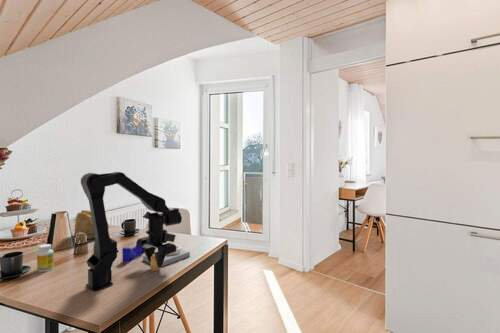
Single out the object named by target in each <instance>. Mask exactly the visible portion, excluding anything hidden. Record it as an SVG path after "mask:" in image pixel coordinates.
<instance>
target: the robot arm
mask: <svg viewBox="0 0 500 333" xmlns="http://www.w3.org/2000/svg"><path fill="white" fill-rule="evenodd" d="M80 185H81V187H82V190H83V193H84V194H85V196H86V197H87V200H88V203H89V209H90V210H89V211H91V216H92V222H93V227H94V233H95V237H94V244H93V253H92V255H90V257H89V258H87V260H86V264H87V266H88V267H89V269H87V284H85V287H87V288H89V289H90V290H91V291H93V292H96V291H99V290H101V289H104V288H106V287H107V288H108V287H109V286H112V285H113V283H114V282H112V281H113V280H112V278H113V277H112V273H113V272H112V267H113V264H114V262H115V261H116V259H117V258H118V253H119V252H120V251H119V249H118V241H116V240H115V239H113V238H111V237H110V233H109V228H108V225H109V224H108V225H107V222H108V220H107V214H106V207H105V202H104V197H105V196H104V195H105V191H106V187H110V186H113V185H118V186H120V187H121V188H123V189H124V190H125V191H127V192H129V193H130V194H131V195H133V196H134V197H136V198H137V199H138V200H140V201H141V204H143V206H145V208H146V209H147V210H149V211H146V213H145V214H143V216H142V218H143V219H147V221H148V227H147V228H148V230H146V231H145V234H146V235H147V236H145V237H141V238H138V239H137V240H136V241H137V246H138V247H142V245H143V248H141V249H142V250H143V252H144V253H143V254H144V255H146V257H147V259H148V261H149V262H150V263H149V265H151V256H152V254H155V257H156V261H157V265H158V268H161V269H162V267H163V266H162V264H163V261H164V258H165V256H166V255H167V254H170V253H173V252H176V245H177V244H174V243H175V240H176V236H177V235H176V234H173V233H169V232H168V231H167V230H166V229H164V226H166V227H169V226H174V225H180V224H181V223H182V219H183V217H182V214H181V212H180V209H179V208H178V207H173V208H170V209H169V206H167V205H166V200H165V199H164V198H163V197H161V196H159V195H156V194H154V193H151V192H149V191H148V190H147V189H145V188H143V187H142V186H141V185H139V184H138V183H136V182H135V181H134V180H132V179H131V178H130V177H128V176H127V174H125V173H124V172H121V171H114V172H109V173H95V172H94V173H93V172H87V173H85V174H84V175H82V177H80ZM151 211H152V212H151ZM156 249H157V251H158V252H157V251H156ZM155 252H156V253H155Z"/></svg>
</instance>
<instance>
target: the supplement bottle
mask: <svg viewBox="0 0 500 333" xmlns="http://www.w3.org/2000/svg"><path fill="white" fill-rule="evenodd" d="M38 250H39V251H37V253H36V264H37V265H36V268H37V271H38V273H39V272H42V273H43V272H48V271H51V270H53V269H54V267H55V266H54V264H55V263H54V260H55V258H54V256H55V255H54V250H53V249H52V244H50V243H47V244H40V245H39V246H38Z"/></svg>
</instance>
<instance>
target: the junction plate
mask: <svg viewBox="0 0 500 333" xmlns="http://www.w3.org/2000/svg"><path fill="white" fill-rule="evenodd" d="M175 245H176V252H173V253H170V254H167V255H166V256H165V258H164V261H163V264H162V267H163V266H167V265H170V264H172V263H175V262H177V261H180V260H183V259H185V258H188V257H190V256H191V251H188V250H185V249H183V248H182V246H181V245H178V244H175ZM156 252H158V250H157V251H155V253H156ZM142 261H143V262H146V263H149V264H150V262H149V261H148V259H147V257H146V255H145V254H144V255H142Z"/></svg>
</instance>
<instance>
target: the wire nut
mask: <svg viewBox="0 0 500 333" xmlns="http://www.w3.org/2000/svg"><path fill="white" fill-rule="evenodd" d="M161 269H162V267H161V268H158V265H157V261H156V257H155V254H152V256H151V264H150V271H152V272H156V271H159V270H161Z"/></svg>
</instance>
